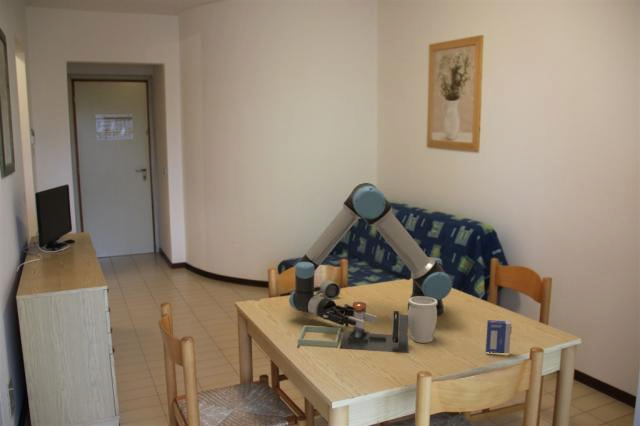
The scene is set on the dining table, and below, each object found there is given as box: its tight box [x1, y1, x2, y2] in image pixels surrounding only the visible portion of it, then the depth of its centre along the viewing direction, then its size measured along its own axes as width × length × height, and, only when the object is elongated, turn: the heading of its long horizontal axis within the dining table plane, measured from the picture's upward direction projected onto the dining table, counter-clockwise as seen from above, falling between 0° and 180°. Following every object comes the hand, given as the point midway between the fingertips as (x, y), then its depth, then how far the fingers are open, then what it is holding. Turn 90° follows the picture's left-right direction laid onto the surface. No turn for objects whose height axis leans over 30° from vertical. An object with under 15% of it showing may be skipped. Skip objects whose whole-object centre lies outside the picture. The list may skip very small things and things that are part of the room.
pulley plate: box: [339, 310, 410, 354], centre depth 208 cm, size 24×16×14 cm, turn 83°
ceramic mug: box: [314, 279, 341, 300], centre depth 262 cm, size 11×8×8 cm
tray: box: [297, 325, 342, 348], centre depth 211 cm, size 14×14×3 cm
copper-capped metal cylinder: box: [352, 301, 367, 338], centre depth 212 cm, size 5×5×13 cm
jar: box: [407, 296, 438, 344], centre depth 214 cm, size 11×10×15 cm
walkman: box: [485, 319, 513, 354], centre depth 201 cm, size 8×3×12 cm, turn 81°
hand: (370, 322), depth 208 cm, fingers open, 6 cm apart
